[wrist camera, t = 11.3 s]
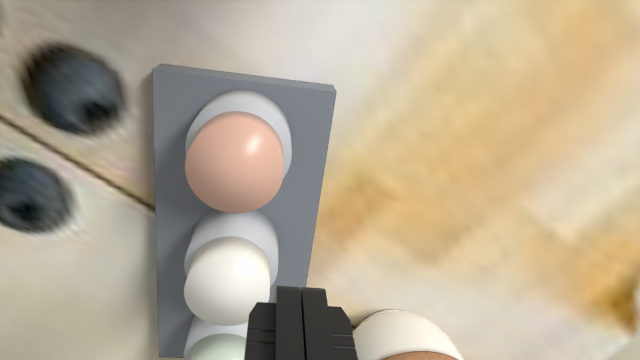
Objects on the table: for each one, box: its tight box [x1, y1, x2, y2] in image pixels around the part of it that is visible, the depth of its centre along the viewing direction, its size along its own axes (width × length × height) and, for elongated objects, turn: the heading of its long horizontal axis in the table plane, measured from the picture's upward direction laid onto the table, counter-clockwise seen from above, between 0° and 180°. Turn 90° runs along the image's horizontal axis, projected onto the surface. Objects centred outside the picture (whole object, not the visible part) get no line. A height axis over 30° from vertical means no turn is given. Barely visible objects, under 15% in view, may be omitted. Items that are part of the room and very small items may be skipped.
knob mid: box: [184, 236, 271, 326], centre depth 26 cm, size 5×5×2 cm
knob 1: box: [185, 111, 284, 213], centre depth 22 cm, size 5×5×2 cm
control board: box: [152, 64, 336, 360], centre depth 29 cm, size 23×11×5 cm, turn 172°
